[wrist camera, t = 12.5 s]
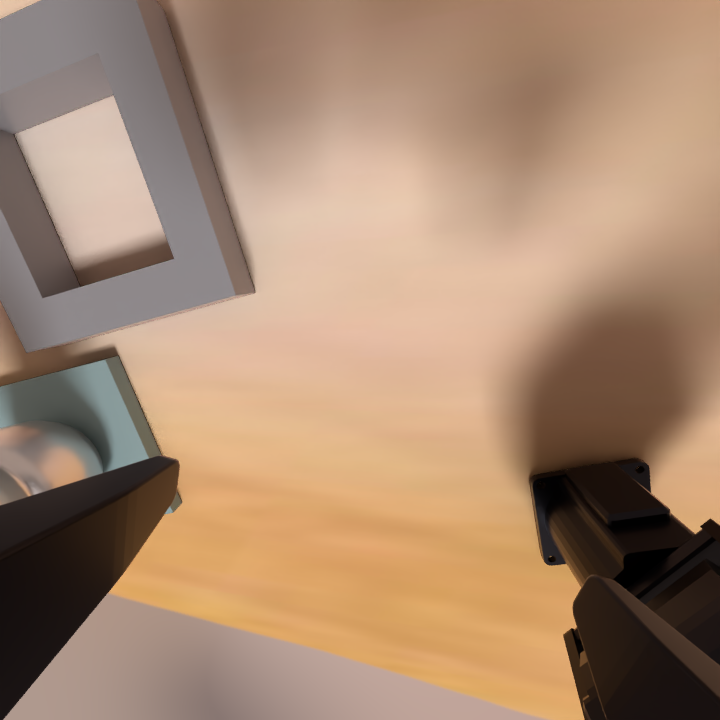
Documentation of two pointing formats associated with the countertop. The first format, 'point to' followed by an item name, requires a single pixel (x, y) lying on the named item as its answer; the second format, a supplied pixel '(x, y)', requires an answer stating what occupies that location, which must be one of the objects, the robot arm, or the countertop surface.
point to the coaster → (87, 410)
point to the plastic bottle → (43, 458)
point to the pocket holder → (153, 151)
